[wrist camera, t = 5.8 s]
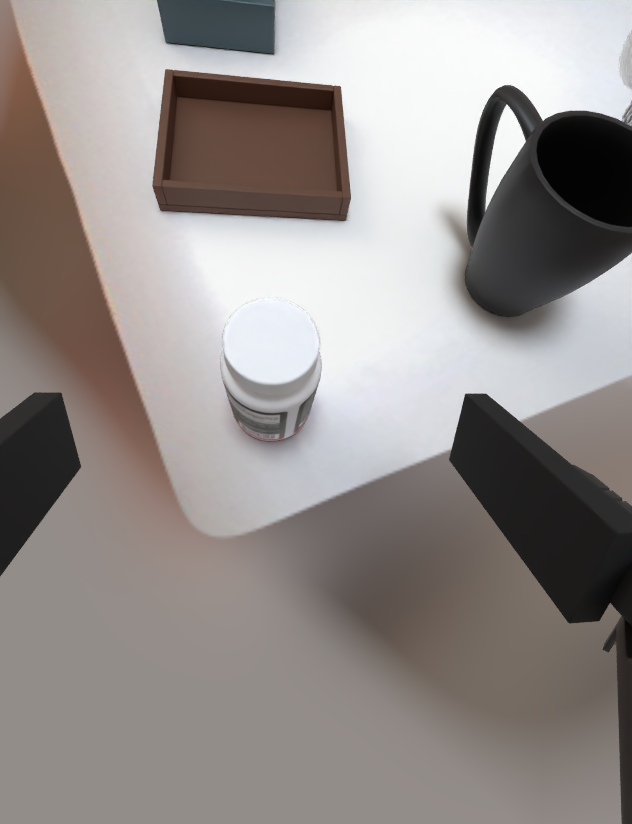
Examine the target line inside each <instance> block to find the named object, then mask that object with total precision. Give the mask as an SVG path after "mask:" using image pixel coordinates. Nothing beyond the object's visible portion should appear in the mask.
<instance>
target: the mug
mask: <svg viewBox="0 0 632 824" xmlns="http://www.w3.org/2000/svg"><path fill="white" fill-rule="evenodd" d="M506 104H507V105H508V106H509V107H510V108H511V109H512V111H513V112H514V114H515V116H516V118H517V120H518V122H519V124H520V126H521V129H522V131H523V134H524V137H525V140H526V143H525V144H524V146H523V147H522V149H521V150H520V152H519V153H518V155H517V156H516V158H515V160H514V161H513V163H512V164H511V166H510V167H509V169H508V171H507V172H506V174H505V175H504V177H503V179H502V180H501V182H500V184H499V186H498V188H497V189H496V191H495V193H494V195H493V197H492V199H491V201H490V203H489V205H488V207H487V210H486V212H485V203H486V191H487V183H488V175H489V168H490V161H491V155H492V150H493V144H494V139H495V135H496V130H497V127H498V123H499V120H500V117H501V115H502V112H503V110H504V108H505V106H506ZM467 234H468V239H469V242H470V245H471V246H472V248H473V249H472V253H471V256H470V260H469V263H468V265H467V268H466V272H465V282H466V286H467V289H468V291H469V293H470V295H471V297H472V298H473V299H474V300H475V301H476V303H477V304H479V305H480V306H481V307H482V308H484V309H485V310H487V311H489V312H491V313H493V314H496V315H499V316H506V317H511V316H518V315H521V314H524V313H526V312H528V311H530V310H532V309H534V308H537V307H539V306H542V305H544V304H547V303H549V302H552V301H554V300H556V299H559V298H561V297H563V296H565V295H567V294H569V293H571V292H573V291H575V290H577V289H578V288H580V287H582V286H584V285H586V284H587V283H589V282H591V281H592V280H594V279H595V278H597V277H598V276H600V275H602V274H603V273H605V272H606V271H608V270H609V269H611V268H612V267H614V266H615V265H617V264H618V263H619V262H621V261H622V260H623V259H624V258H626V257H627V256H628V255H630V254H631V253H632V126H630V125H628V124H626V123H624V122H622V121H620V120H618V119H615V118H613V117H610V116H607V115H604V114H600V113H595V112H589V111H567V112H561V113H557V114H555V115H553V116H550V117H548V118H546V119H545V120H544V121H542V119H541V117H540V115H539V113H538V112H537V110H536V108H535V107H534V105H533V104H532V103H531V101H530V100H529V99H528V97H527V96H526V95H525V94H524V93H523V92H522V91H520V90H519V89H517V88H516V87H514V86H511V85H504V86H502V87H500V88H498V89H497V90H496V91H495V92H494V93H493V94H492V96H491V97H490V98H489V100H488V102H487V103H486V105H485V108H484V110H483V112H482V115H481V118H480V121H479V125H478V129H477V134H476V140H475V147H474V154H473V163H472V171H471V180H470V189H469V199H468V210H467Z"/></svg>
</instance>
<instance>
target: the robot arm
mask: <svg viewBox="0 0 632 824" xmlns="http://www.w3.org/2000/svg"><path fill="white" fill-rule="evenodd" d="M449 460H450V462H451V463H452V464H453V466H454V467H455V469H456V470H457V471H458V473H459V474H460V475H461V477H462V478H463V480H464V481H465V482H466V484H467V485H468V486H469V488H470V489H471V490H472V492H473V493H474V494H475V496H476V497H477V499H478V500H479V501H480V502H481V504H482V505H483V507H484V508H485V510H486V511H487V512H488V513H489V515H490V516H491V517H492V519H493V520H494V522H495V523H496V525H497V526H498V527H499V529H500V530H501V531H502V533H503V534H504V536H505V537H506V538H507V540H508V541H509V542H510V544H511V545H512V546H513V548H514V549H515V551H516V552H517V553H518V555H519V556H520V557H521V559H522V560H523V561H524V563H525V564H526V565H527V567H528V568H529V570H530V571H531V572H532V574H533V575H534V576H535V578H536V579H537V581H538V582H539V583H540V585H541V586H542V587H543V589H544V590H545V591H546V593H547V594H548V595H549V597H550V598H551V600H552V601H553V602H554V604H555V605H556V606H557V608H558V609H559V611H560V612H561V613H562V615H563V616H564V617H565V619H566V620H567V622H568V623H580V622H594V621H599V620H600V619H601V617H602V615H603V614H604V612H605V610H606V608H607V607H608V605H609V603H611V604H612V605H613V606H614V607H615V609H616V610H617V611H618V612H619V613H620V614H621V615H622V616H621V618H620V619H619V621H618V623H617V624H616V626H615V628H614V629H613V631H612V632H611V634H610V636H609V637H608V639H607V640H606V642H605V644H604V647H603V650H605V651H607V652H609V651H610V649H611V648H612V646H613V645H616V647H617V679H618V680H617V681H618V713H619V746H620V781H621V814H622V824H632V506H631V505H629V504H628V503H627V502H626V501H622V498H621V497H620V496H618V495H617V494H616V493H615V492H613V491H610V490H609V488H608V487H607V486H606V485H605V484H603V483H602V482H601V481H600V480H599V479H597V478H596V477H595V476H594V475H592V474H590V473H588V472H586V471H584V470H582V469H580V468H578V467H577V466H575V465H571V464H570V463H569V462H568V461H567V460H565V459H564V458H563V457H562V456H561V455H559V454H558V453H557V452H556V451H555V450H553V449H552V448H551V447H550V446H548V445H547V444H546V443H545V442H544V441H543V440H541V439H540V438H539V437H537V435H535V434H534V433H533V432H532V431H531V430H529V429H528V428H527V427H526V426H524V425H523V424H522V423H521V422H520V421H518V420H517V419H516V418H515V417H514V416H512V415H511V414H510V413H509V412H508V411H506V410H505V409H504V408H503V407H502V406H500V405H499V404H498V403H497V402H496V401H494V400H493V399H492V398H491V397H489V396H488V395H487V394H465V398H464V402H463V406H462V410H461V414H460V418H459V422H458V426H457V430H456V434H455V438H454V442H453V446H452V450H451V454H450V458H449ZM80 468H81V464H80V461H79V457H78V453H77V449H76V446H75V442H74V438H73V434H72V431H71V427H70V423H69V420H68V416H67V412H66V409H65V405H64V401H63V397H62V393H33V394H32V395H31V396H29V397H28V398H27V399H25V400H24V401H23V402H22V403H20V404H19V405H18V406H16V407H15V408H14V409H13V410H11V411H10V412H9V413H7V414H6V415H5V416H3V417H2V418H1V419H0V576H1V575H2V573H3V572H4V571H5V569H6V568H7V567H8V565H9V564H10V562H11V561H12V560H13V558H14V557H15V556H16V554H17V553H18V551H19V550H20V549H21V548H22V546H23V545H24V544H25V542H26V541H27V539H28V538H29V537H30V535H31V534H32V533H33V531H34V530H35V529H36V527H37V526H38V525H39V523H40V522H41V521H42V519H43V518H44V516H45V515H46V513H47V512H48V511H49V510H50V508H51V507H52V506H53V504H54V503H55V502H56V500H57V499H58V498H59V496H60V495H61V493H62V492H63V491H64V489H65V488H66V487H67V485H68V484H69V483H70V481H71V480H72V478H73V477H74V476H75V474H76V473H77V472H78V471H79V469H80Z"/></svg>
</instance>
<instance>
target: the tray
mask: <svg viewBox="0 0 632 824" xmlns="http://www.w3.org/2000/svg"><path fill="white" fill-rule="evenodd" d="M152 186H153V189H154V192H155V195H156V198H157V201H158V204H159V208H160V210H168V211H186V212H204V213H222V214H240V215H258V216H277V217H295V218H313V219H331V220H346V217H347V212H348V208H349V204H350V200H351V194H350V183H349V172H348V161H347V150H346V139H345V128H344V116H343V105H342V94H341V87H340V86H334V87H333V86H331V85H321V84H311V83H301V82H291V81H280V80H270V79H260V78H250V77H240V76H229V75H219V74H209V73H199V72H188V71H178V70H174V71H173V70H168V69H166V70H165V77H164V86H163V95H162V104H161V113H160V122H159V131H158V140H157V149H156V158H155V167H154V176H153V185H152Z"/></svg>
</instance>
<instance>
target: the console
mask: <svg viewBox="0 0 632 824" xmlns="http://www.w3.org/2000/svg"><path fill="white" fill-rule="evenodd" d="M157 2H158V7H159V12H160V17H161V22H162V26H163V31H164V36H165V41H166V42H167V43H177V44H186V45H196V46H205V47H215V48H224V49H234V50H243V51H252V52H262V53H271V54H274V15H275V2H274V0H157Z"/></svg>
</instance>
